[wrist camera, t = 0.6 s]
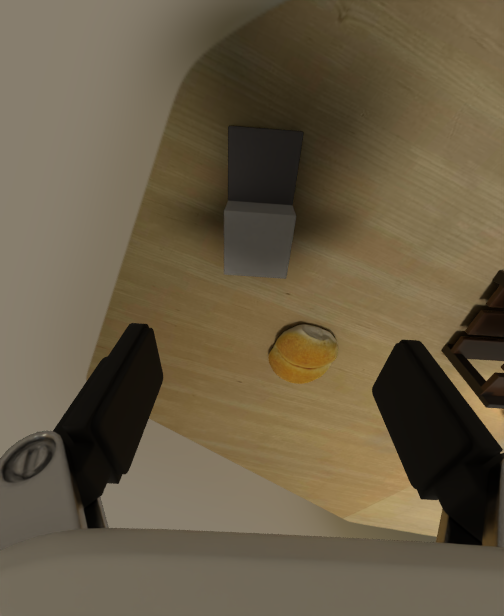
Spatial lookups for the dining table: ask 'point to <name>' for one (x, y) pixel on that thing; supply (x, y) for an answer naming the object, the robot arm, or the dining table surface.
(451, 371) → the dining table surface
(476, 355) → the rack
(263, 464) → the dining table surface
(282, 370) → the bread roll
